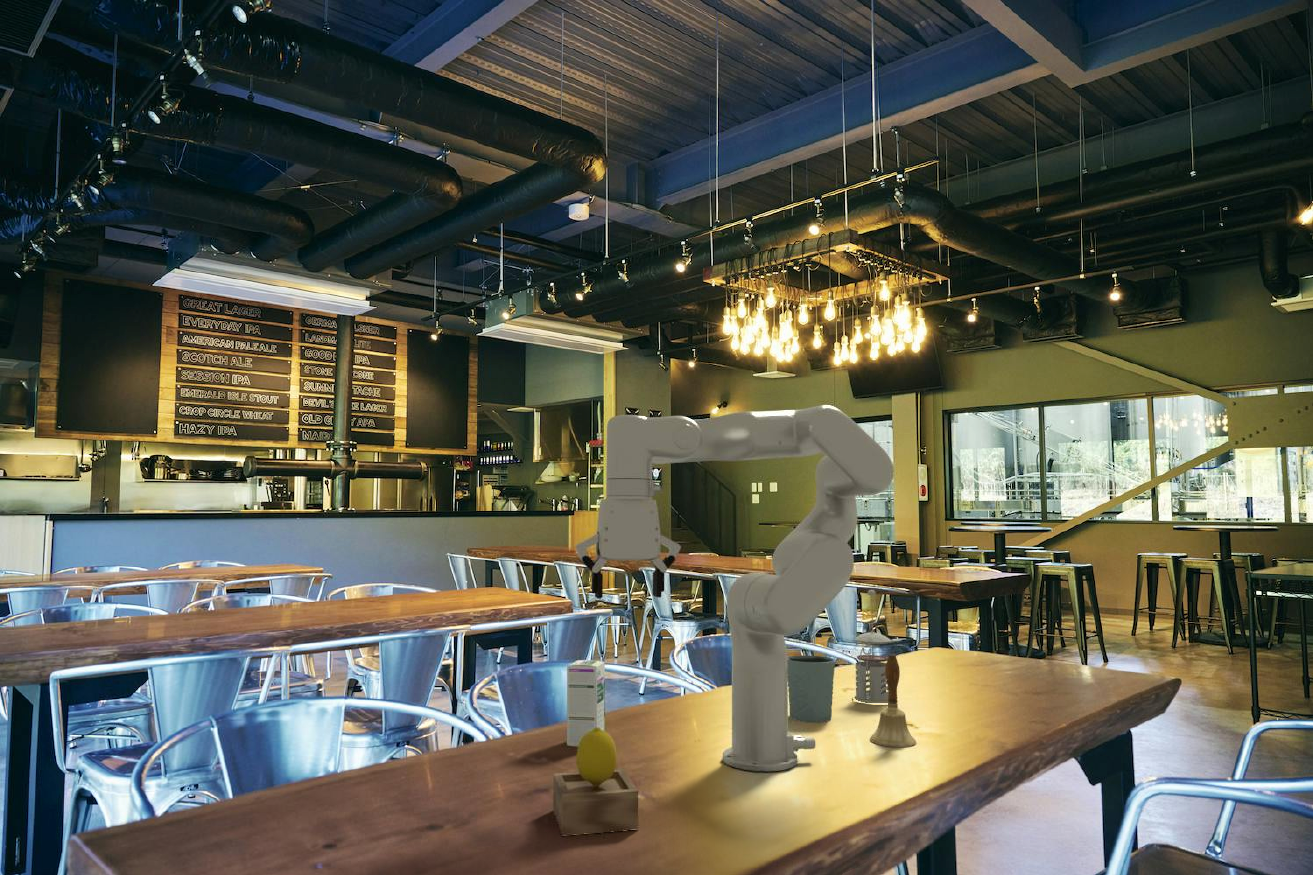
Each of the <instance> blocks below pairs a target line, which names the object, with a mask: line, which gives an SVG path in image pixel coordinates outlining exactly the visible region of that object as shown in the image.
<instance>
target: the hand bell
mask: <svg viewBox="0 0 1313 875" xmlns="http://www.w3.org/2000/svg"><path fill="white" fill-rule="evenodd" d="M887 657H888V660H887V661H886V662H885V663H886V668H885V675H886V681H887V684H888V685H887V684H886V685H887V686H888V690H887V692H888V705H887V708H884V709H882V710H880V713H879V714H880V716H879V722H878V726H877V728H876V730H875V732H873V734H871V736H870V738H869V740H870V742H872V743H873V744H876V745H880V746H884V747H888V748H910V747H914V746H916V745H917V741H916V739H915V738H914V736H912V734H911V732H910V731H909V728H908V724H907V719H906V718H907V717H906V714H905V712H904V711H902V710H901V709H899V708H898V685H899V682H900V676H901V674H900V672H901V671H900V665H899V661H898V659H897V655H896V653H888V656H887Z"/></svg>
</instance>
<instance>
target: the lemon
mask: <svg viewBox="0 0 1313 875" xmlns="http://www.w3.org/2000/svg"><path fill="white" fill-rule="evenodd" d="M576 751H577V752H576V767H577V770H578V771H577V772H579V773H580V775H581V776H582V777H583V779H585V780H586V781H587V782H590V783H591V784H592V785H593V786H594V787H599V786H600V785H601V784H602V783H603V782H605V781H607V780H608V779H609V778H610V777H611V776H612V774H613V772H614V770H616V766H617V763H618V762H617V761H618V752H617V746H616V742H615V741H614V739H613V737H612V736H611V735H610V733H608V732H607V731H606V730H605V731H603V730H601V729H600V728H599V727H596V728H594V729H593V730H592V731H589V732H588V733H586V734H585V735H584V736H583V737H582V739H581V740H580V743H579V746H578V747H577V750H576Z"/></svg>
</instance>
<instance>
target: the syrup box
mask: <svg viewBox="0 0 1313 875" xmlns="http://www.w3.org/2000/svg"><path fill="white" fill-rule="evenodd" d="M605 670H606V668H605V661H604V660H596V659H581V660H579V659H578V660H575V661H574V662H572V663H570V664H569V665H567V666H566V745H567V746H569V747H574V748H575V747H576V748H578V746H579V743H580V740H581V739H582V737H583V736H584V735H585V734H586V733H588V732H589V731H592V730H593V729H594V728H596V727H599V728H600V729H601V730H603V731H605V732H606V692H605V691H606V680H605V679H606V678H605V677H606V674H605Z"/></svg>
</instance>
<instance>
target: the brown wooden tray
mask: <svg viewBox="0 0 1313 875" xmlns="http://www.w3.org/2000/svg"><path fill="white" fill-rule="evenodd" d="M552 799H553V800H552V801H553V802H552V804H553V806H552V811H553V810H554V811H553V814H554V813H555V814H554V816H555V815H556V817H555V819H556V818H557V820H556V822H558V823H557V825H558V824H559V826H558V828H559V827H560V828H559V830H560V829H561V831H560V833H561V832H562V834H561V836H562V835H573V834H584V833H587V834H588V833H601V834H603V833H602V832H611V831H623V830H631V829H638V830H639V790H638V788H637V786H635V784H634V782H633V781H632V779H631V778H630V777H629V775H628V774H627V772H626V771H625V770H624V768H618V769H615V770H614V772H613V774H612V776H611V777H610V778H609V779H608V780H607V781H605V782H603V783H602V784H601V785H600V786H599V787H594V786H593V785H592V784H591V783H590V782H587V781H586V780H585V779H583V777H582V776H581V775H580V773H579V771H574V772H573V771H571V772H563V773H562V772H559V773H553V795H552Z"/></svg>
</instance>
